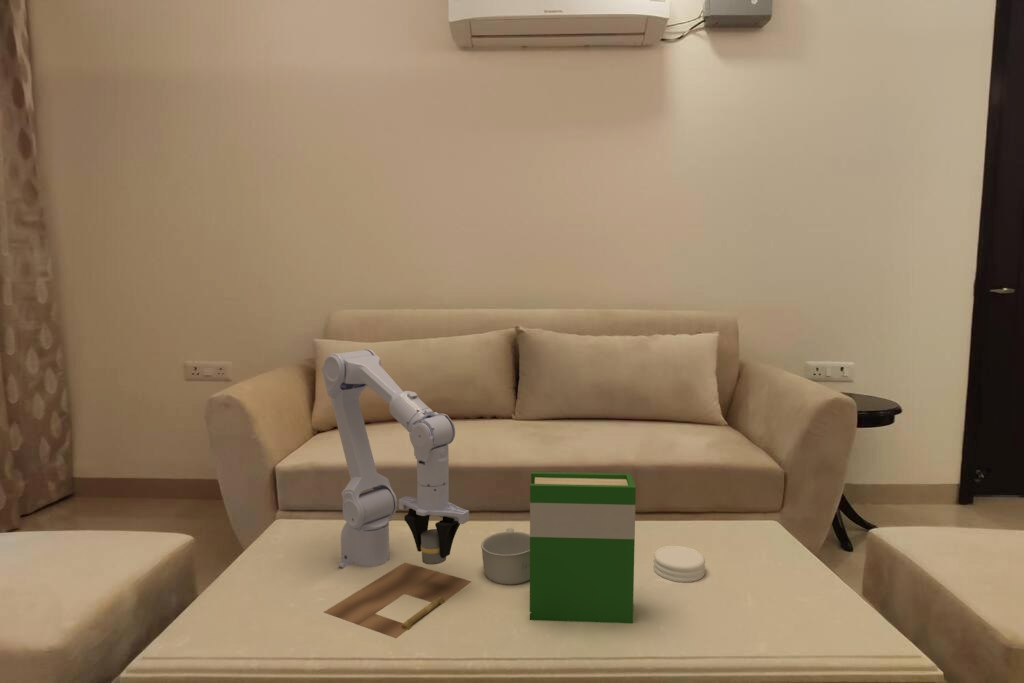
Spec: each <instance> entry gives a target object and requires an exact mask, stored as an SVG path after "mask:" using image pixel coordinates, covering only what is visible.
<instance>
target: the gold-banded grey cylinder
mask: <svg viewBox="0 0 1024 683" xmlns="http://www.w3.org/2000/svg"><path fill="white" fill-rule="evenodd" d="M421 560H422V561H421V562H422V563H423V564H425V565H429V566H431V565H432V566H433V565H440V564H442V563H444V562H445V561H446V560H447V557H445V558H441V557H440V545H439V536H438V532H437V529H436V528H431V529H428V530H426V531H424V532H422V533H421Z"/></svg>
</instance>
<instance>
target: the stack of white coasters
mask: <svg viewBox="0 0 1024 683" xmlns="http://www.w3.org/2000/svg"><path fill="white" fill-rule="evenodd" d="M653 558H654V559H653V570H654V572H655V573H656V574H657V575H658V576H660V577H661V578H663V579H666V580H669V581H672V582H675V583H676V582H678V583H691V582H693V583H694V582H698V581H699V580H701V579H702V578H703V577H704V576H705V573H706V571H705V568H706V565H705V564H706V559H705V558H706V557H705V556H704V555H703V553H701V552H700V551H699V550H696V549H693V548H691V547H688V546H684V545H683V546H682V545H666V546H662V547H659V548H658V549H656V550H655V551H654V553H653Z"/></svg>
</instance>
